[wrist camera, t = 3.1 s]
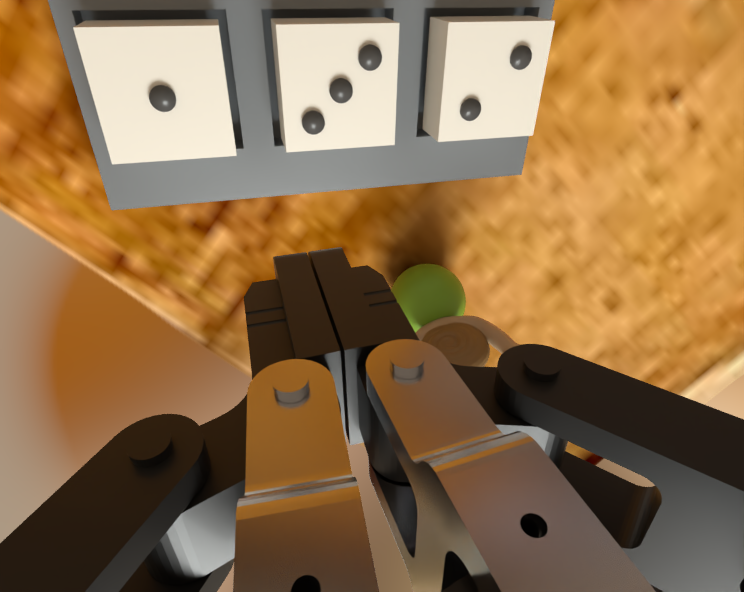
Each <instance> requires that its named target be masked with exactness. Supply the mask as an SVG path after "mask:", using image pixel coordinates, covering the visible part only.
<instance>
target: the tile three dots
mask: <svg viewBox="0 0 744 592" xmlns="http://www.w3.org/2000/svg"><path fill="white" fill-rule="evenodd" d="M399 24H400V23H398V22H396V21H393V20H391V19H388V18H386V17H353V18H271V29H272V41H273V52H274V64H275V75H276V86H277V98H278V109H279V121H280V132H281V139H282V142H283V144H284V147H285V150H286V152H300V151H315V150H329V149H344V148H358V147H373V146H387V145H395V124H396V99H397V74H398V49H399Z"/></svg>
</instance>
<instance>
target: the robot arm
mask: <svg viewBox="0 0 744 592" xmlns="http://www.w3.org/2000/svg"><path fill="white" fill-rule="evenodd" d="M273 260H274V268H275V275H276V279H274V280H267V281H260V282H254V283H252V284H251V286H250V288H249V289H248V291H247V293H246V294H245V296H244V304H245V313H246V322H247V332H248V341H249V350H250V360H251V369H252V381H251V383H250V385H249V387H248V392H247V395H246V396H245V398H244V399H243V400H242V401H241V402H240V403H239V404H238V405H237V406H235V407H234V408H233V409H232V410H230V411H229V412H227V413H225V414H223V415H222V416H220V417H218V418H215V419H213V420H211V421H209V422H207V423H205V424H203V425H200V426H199V425H198V424H197V423H196V422H195V421H193V420H192V419H190V418H188V417H185V416H182V415H177V414H162V415H156V416H152V417H149V418H145V419H143V420H140V421H137V422H136V423H134V424H132V425H130V426H128V427H127V428H125V429H124V430H122V431H121V432H120V433H118V434H117V435H116V436H115V437H114V438H113V439H112V440H111V441H109V442H108V443H107V444H106V445H105V446H104V447H103V448H102V449H101V450H100V451H99V452H98V453H97V454H96V455H94V456H93V457H92V458H91V459H90V460H89V461H88V462H87V463H86V464H85V465H84V466H83V467H82V468H81V469H80V470H78V471H77V472H76V473H75V474H74V475H73V476H72V477H71V478H70V479H69V480H68V481H67V482H66V483H64V484H63V485H62V486H61V487H60V488H59V489H58V490H57V491H56V492H55V493H54V494H53V495H52V496H51V497H50V498H49V499H47V500H46V501H45V502H44V503H43V504H42V505H41V506H40V507H39V508H38V509H37V510H36V511H35V512H34V513H32V514H31V515H30V516H29V517H28V518H27V519H26V520H25V521H24V522H23V523H22V524H21V525H19V527H17V528H16V529H15V530H14V531H13V532H12V533H11V534H10V535H9V536H8V537H7V538H6V539H5V540H4V541H2V542H1V543H0V592H217V591H218V589H219V587H220V586H221V585H222V583H223V581H224V580H225V578H226V577H227V575H228V573H229V571H230V570H231V568H232V565H233V563H234V583H233V585H234V586H233V592H379V588H378V583H377V578H376V573H375V568H374V563H373V558H372V553H371V548H370V543H369V538H368V533H367V527H366V522H365V518H364V512H363V507H362V502H361V497H360V492H359V488H358V484H357V480H356V478H355V477H353V476H352V471H351V467H350V461H349V456H348V450H347V445H346V433H347V437H348V440H349V444H350V445H354V444H358V443H363V442H364V444H365V447H366V450H367V453H368V458H369V476H370V480H371V483H372V485H373V487H374V490H375V492H376V495H377V497H378V500H379V502H380V504H381V507H382V509H383V511H384V514H385V517H386V519H387V521H388V524H389V526H390V529H391V531H392V533H393V536H394V538H395V541H396V543H397V546H398V548H399V550H400V553H401V555H402V558H403V560H404V563H405V565H406V568H407V570H408V574H409V577H410V581H411V585H412V591H413V592H744V420H743V419H741V418H738V417H735V416H733V415H730V414H727V413H724V412H722V411H720V410H717V409H714V408H712V407H709V406H706V405H704V404H701V403H698V402H696V401H693V400H690V399H688V398H685V397H682V396H680V395H677V394H674V393H672V392H669V391H667V390H664V389H661V388H659V387H656V386H653V385H651V384H648V383H645V382H643V381H640V380H637V379H635V378H632V377H629V376H627V375H624V374H621V373H619V372H616V371H614V370H611V369H608V368H606V367H603V366H600V365H598V364H595V363H592V362H590V361H587V360H584V359H582V358H579V357H576V356H574V355H571V354H568V353H566V352H563V351H561V350H558V349H555V348H552V347H549V346H544V345H538V344H523V345H518V346H514V347H512V348H509V349H508V350H506V351H505V352H504V353H503V354H502V355H501V356H500V358H499V361H498V365H497V367H476V366H461V365H456V364H452V363H449V361H448V360H447V359H446V357H445V356H444V355H443V353H442V352H441V351H440V350H438V349H437V348H436V347H434V346H432V345H430V344H428V343H426V342H422V341H420V340H419V338H418V337H417V335H416V333H415V331H414V329H413V328H412V326H411V324H410V322H409V321H408V319H407V317H406V315H405V314H404V312H403V310H402V308H401V307H400V305H399V303H397V299H396V298H395V296H394V294H393V292H391V289H390V287H389V285H388V284H387V282H386V280H385V278H384V276H383V275H381V274H380V273H378V272H377V271H375V270H374V269H372V268H371V267H369V266H368V265H366V266H360V267H353V268H351V266H350V264H349V262H348V260H347V258H346V256H345V254H344V252H343V250H342V248H341V247H339V248H332V249H325V250H318V251H311V252H308V255H307V253H306V252H305V253H297V254H290V255H283V256H276V257H273ZM568 441H569V442H571V443H573V444H575V445H577V446H580V447H582V448H584V449H586V450H588V451H590V452H592V453H595V454H597V455H599V456H601V457H603V458H605V459H607V460H610V461H612V462H614V463H616V464H618V465H620V466H622V467H625V468H627V469H629V470H631V471H633V472H635V473H638V474H640V475H642V476H644V477H645V478H647V479H648V480H650V481H651V482H653V483H654V485H655V486H653V487H642V486H638V485H635V484H633V483H631V482H628V481H626V480H624V479H622V478H620V477H618V476H616V475H614V474H612V473H609V472H607V471H605V470H603V469H601V468H599V467H597V466H595V465H593V464H591V463H589V462H587V461H584V460H582V459H580V458H578V457H576V456H574V455H572V454H570V453H568V452H566V451H565V449H566V446H567V443H568Z"/></svg>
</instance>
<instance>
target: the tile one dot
mask: <svg viewBox="0 0 744 592" xmlns="http://www.w3.org/2000/svg"><path fill="white" fill-rule="evenodd" d="M73 29H74V33H75V36H76V40H77V43H78V47H79V50H80V54H81V57H82V61H83V64H84V68H85V71H86V75H87V78H88V82H89V85H90V89H91V92H92V96H93V99H94V103H95V106H96V110H97V113H98V117H99V120H100V124H101V127H102V131H103V134H104V138H105V141H106V145H107V148H108V152H109V155H110V159H111V162H112V164H126V163H140V162H155V161H169V160H184V159H198V158H213V157H228V156H237V154H236V145H235V137H234V130H233V123H232V116H231V109H230V101H229V94H228V87H227V80H226V73H225V66H224V58H223V51H222V44H221V37H220V30H219V23H218V19H173V20H86V21H84V22H82V23H80V24H78V25H77V26H75V27H73Z"/></svg>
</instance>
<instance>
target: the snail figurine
mask: <svg viewBox="0 0 744 592" xmlns="http://www.w3.org/2000/svg"><path fill="white" fill-rule="evenodd" d="M391 292H393V294H394V296H395V298H396V299H397V303H399V305H400V307H401V308H402V310H403V312H404V314H405V315H406V317H407V319H408V321H409V322H410V324H411V326H412V328H413V329H414V331H415V333H416V335H417V337H418V338H419V340H420V341H422V342H426V343H428V344H430V345H432V346H434V347H436V348H437V349H438V350H440V351H441V352H442V353H443V355H444V356H445V357H446V359H447V360H448V361H449V363H452V364H456V365H461V366H476V367H484V366H485V364H486V363H487V361H488V358H489V353H490V348H489V344H490V345H492V346H493V347H494V348H496V349H497V350H498V351H499V352H501V353H502V354H503V353H504V352H505V351H506V350H508V349H509V348H512V347H514V346H518V345H519V344H517V343H515V342H514V341H513V340H512V339H511V338H510V337H509V336H508V335H507V334H506V333H505V332H503V331H502V330H501V329H499V328H498V327H496V326H495V325H493V324H492V323H490V322H488V321H486V320H484V319H482V318H479V317H476V316H463V314H464V311H465V305H466V298H465V292H464V289H463V287H462V284H461V283H460V281H459V280H458V278H457V277H456V276H455V275H454V274H453V273H452V272H451V271H449V270H448V269H446V268H444V267H442V266H439V265H436V264H419V265H415V266H413V267H410V268H409V269H407V270H405V271H404V272H403V273H402V274H401V275H400V276H399V277H398V278H397V279H396V281H395V282H394V284H393V286H392V288H391ZM488 343H489V344H488Z"/></svg>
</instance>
